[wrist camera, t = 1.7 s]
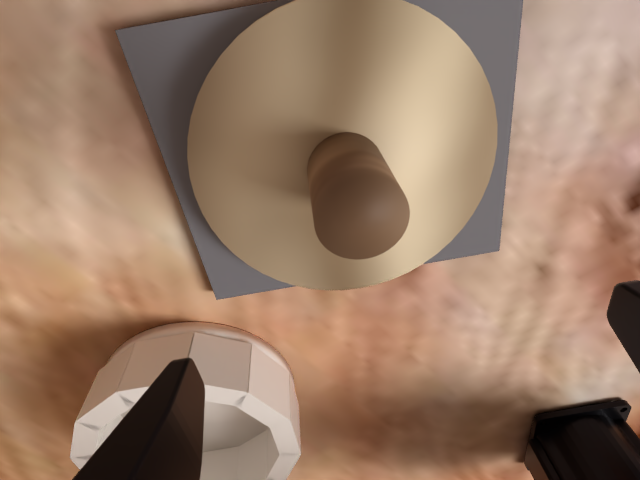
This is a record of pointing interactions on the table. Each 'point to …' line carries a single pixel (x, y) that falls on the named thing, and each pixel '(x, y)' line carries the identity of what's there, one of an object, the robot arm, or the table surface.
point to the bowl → (220, 398)
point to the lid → (342, 141)
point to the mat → (212, 40)
